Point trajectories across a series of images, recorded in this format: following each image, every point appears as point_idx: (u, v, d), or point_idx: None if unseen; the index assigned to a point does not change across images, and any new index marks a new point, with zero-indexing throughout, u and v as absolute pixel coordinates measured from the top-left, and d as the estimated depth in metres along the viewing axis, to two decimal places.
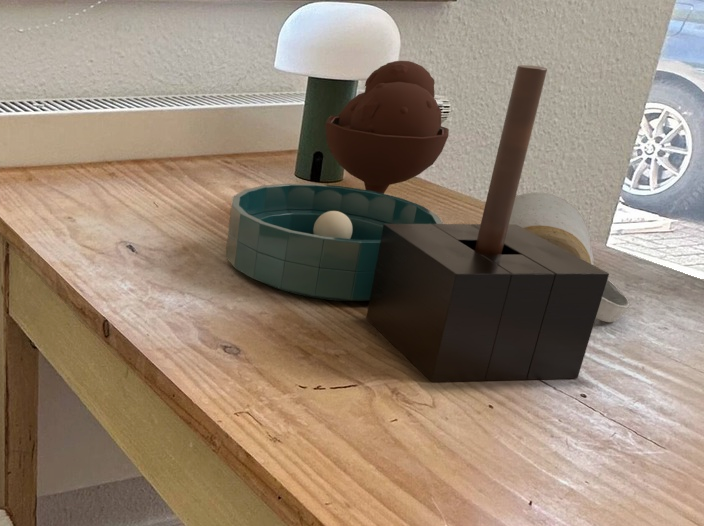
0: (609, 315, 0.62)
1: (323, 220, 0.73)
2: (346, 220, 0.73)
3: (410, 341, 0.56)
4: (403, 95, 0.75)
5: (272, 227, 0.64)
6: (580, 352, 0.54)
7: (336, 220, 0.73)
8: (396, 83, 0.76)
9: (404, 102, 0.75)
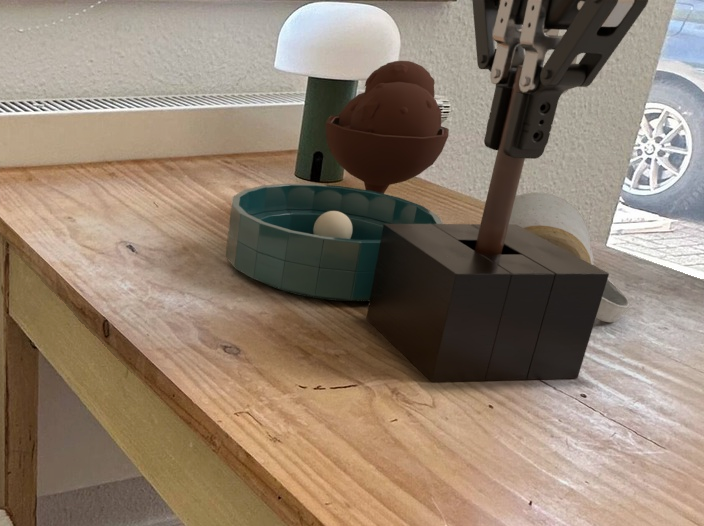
0: (609, 315, 0.62)
1: (323, 220, 0.73)
2: (346, 220, 0.73)
3: (410, 341, 0.56)
4: (403, 95, 0.75)
5: (272, 227, 0.64)
6: (580, 352, 0.54)
7: (336, 220, 0.73)
8: (396, 83, 0.76)
9: (404, 102, 0.75)
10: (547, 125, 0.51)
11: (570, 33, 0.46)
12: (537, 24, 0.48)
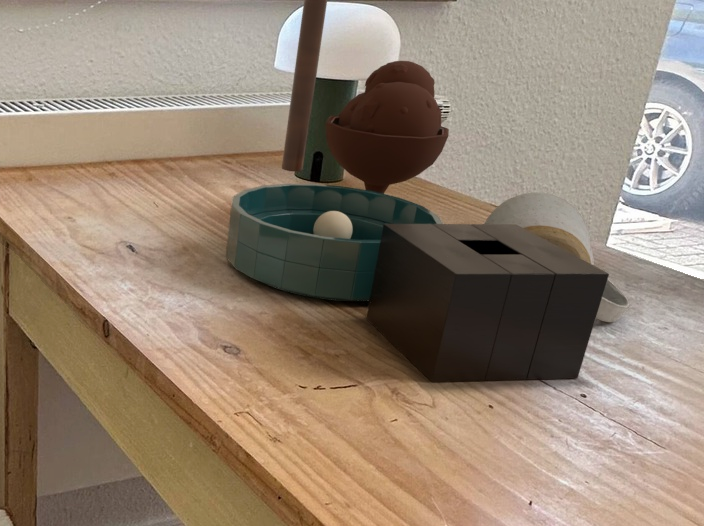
0: (609, 315, 0.62)
1: (323, 220, 0.73)
2: (346, 220, 0.73)
3: (410, 341, 0.56)
4: (403, 95, 0.75)
5: (272, 227, 0.64)
6: (580, 352, 0.54)
7: (336, 220, 0.73)
8: (396, 83, 0.76)
9: (404, 102, 0.75)
10: None
11: None
12: None
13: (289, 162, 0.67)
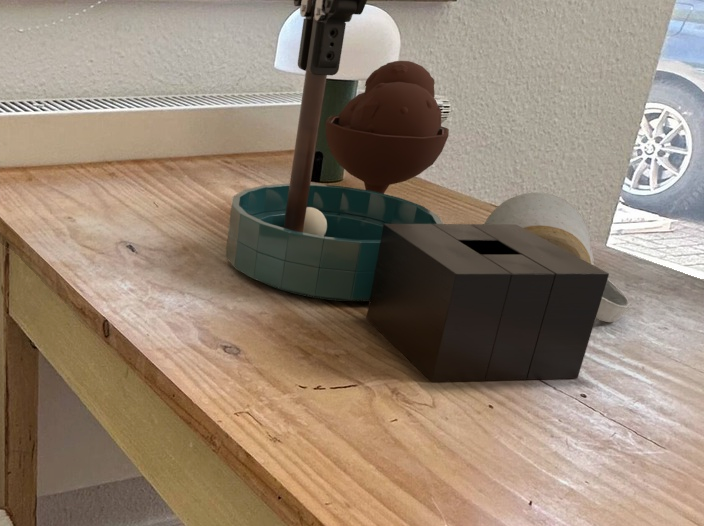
0: (609, 315, 0.62)
1: None
2: (312, 209, 0.74)
3: (410, 341, 0.56)
4: (403, 95, 0.75)
5: (272, 227, 0.64)
6: (580, 352, 0.54)
7: None
8: (396, 83, 0.76)
9: (404, 102, 0.75)
10: (336, 47, 0.64)
11: None
12: None
13: None
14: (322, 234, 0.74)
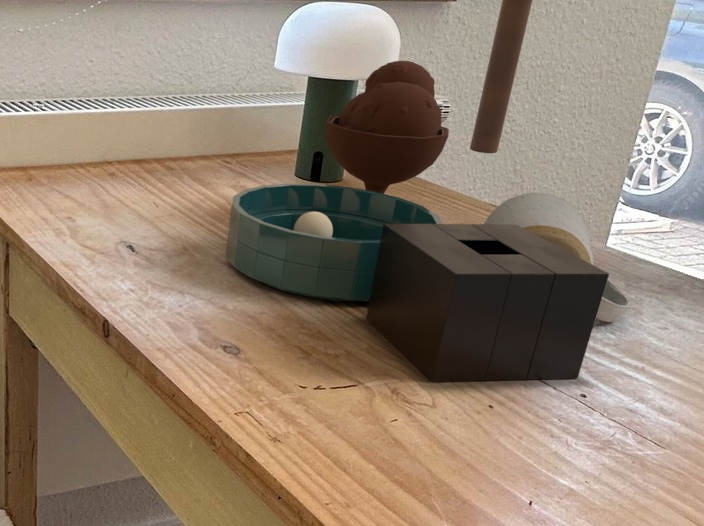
0: (609, 315, 0.62)
1: (305, 214, 0.73)
2: (321, 226, 0.72)
3: (410, 341, 0.56)
4: (403, 95, 0.75)
5: (272, 227, 0.64)
6: (580, 352, 0.54)
7: (312, 219, 0.72)
8: (396, 83, 0.76)
9: (404, 102, 0.75)
10: None
11: None
12: None
13: (483, 142, 0.54)
14: None
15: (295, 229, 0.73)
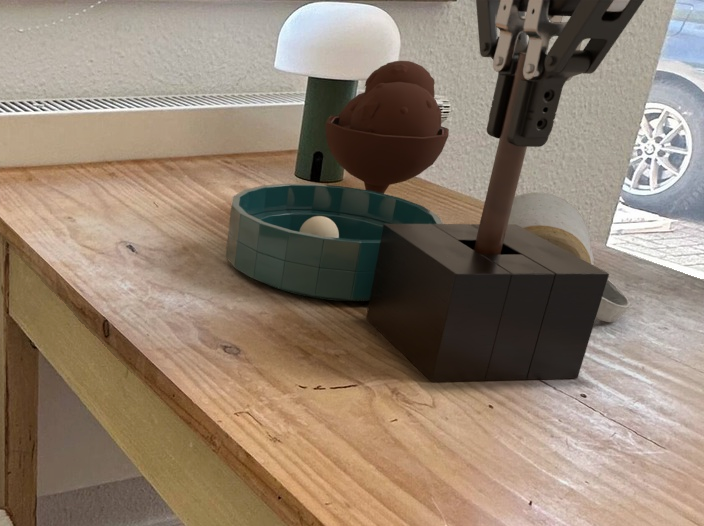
0: (609, 315, 0.62)
1: (314, 226, 0.71)
2: None
3: (410, 341, 0.56)
4: (403, 95, 0.75)
5: (272, 227, 0.64)
6: (580, 352, 0.54)
7: None
8: (396, 83, 0.76)
9: (404, 102, 0.75)
10: (551, 112, 0.50)
11: (574, 18, 0.46)
12: (541, 10, 0.48)
13: None
14: None
15: None
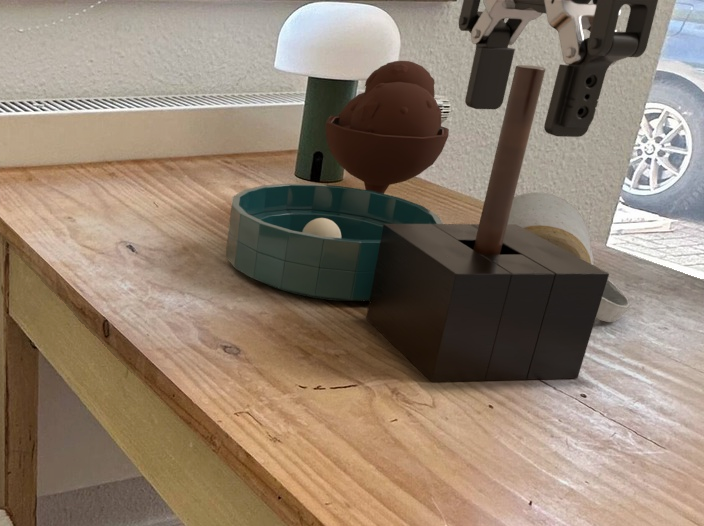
0: (609, 315, 0.62)
1: (317, 233, 0.70)
2: None
3: (410, 341, 0.56)
4: (403, 95, 0.75)
5: (272, 227, 0.64)
6: (580, 352, 0.54)
7: None
8: (396, 83, 0.76)
9: (404, 102, 0.75)
10: (593, 100, 0.47)
11: None
12: None
13: None
14: None
15: None
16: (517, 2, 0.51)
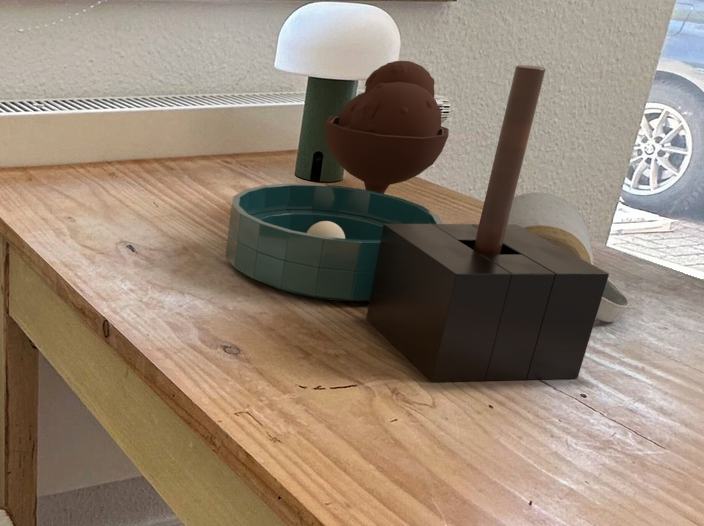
0: (609, 315, 0.62)
1: None
2: None
3: (410, 341, 0.56)
4: (403, 95, 0.75)
5: (272, 227, 0.64)
6: (580, 352, 0.54)
7: None
8: (396, 83, 0.76)
9: (404, 102, 0.75)
10: None
11: None
12: None
13: None
14: None
15: None
16: None
